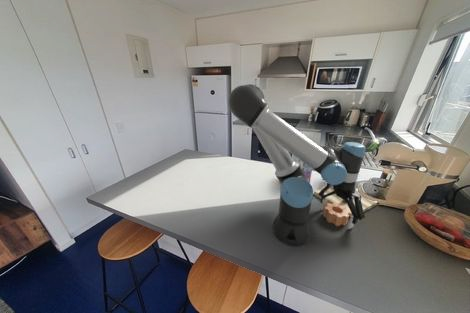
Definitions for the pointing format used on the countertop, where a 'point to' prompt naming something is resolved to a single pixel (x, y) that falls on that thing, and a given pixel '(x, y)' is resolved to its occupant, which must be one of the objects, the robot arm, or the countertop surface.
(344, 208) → the gear
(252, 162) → the countertop surface
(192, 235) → the countertop surface
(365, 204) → the gear board
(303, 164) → the candy box
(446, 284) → the countertop surface
